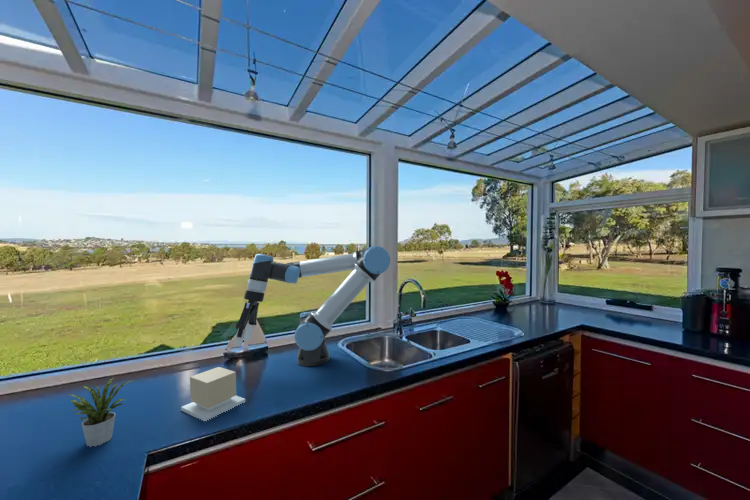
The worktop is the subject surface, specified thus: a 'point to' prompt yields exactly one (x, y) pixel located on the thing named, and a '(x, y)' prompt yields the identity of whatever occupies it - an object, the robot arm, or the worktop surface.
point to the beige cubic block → (212, 386)
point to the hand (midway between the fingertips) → (242, 342)
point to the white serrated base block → (211, 408)
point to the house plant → (98, 415)
